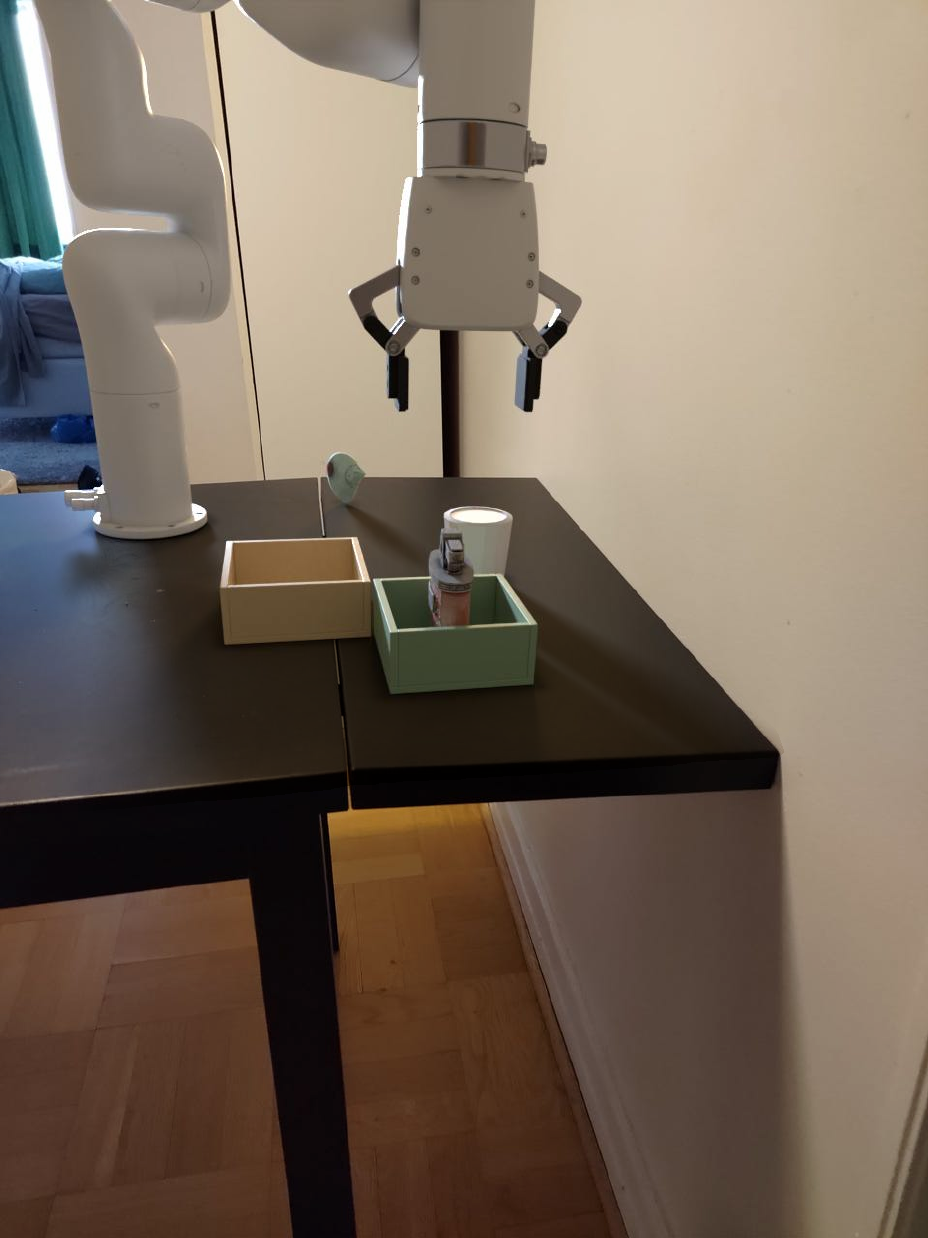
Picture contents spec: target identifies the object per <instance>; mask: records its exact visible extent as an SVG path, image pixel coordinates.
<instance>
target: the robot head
mask: <svg viewBox="0 0 928 1238" xmlns="http://www.w3.org/2000/svg"><path fill="white" fill-rule="evenodd" d="M325 472H326V477H327V482H328V484H329V487H330V489H331V492H332V493H333V494H334V496H335V497H336V498H337V499H338V500H339V501H340V502H341V503H343V504H348V503H351V502H353V501H354V499H355V497H356V496H357V493H358V489H359V486H360V482H361V481H362V480H363V478H364V477H365V476H367V475H366V474H367V473H366V472H365V471H364V470H363V469H362V468H361V467H360V465H359V463H358V461H357V460H356V459H355V458H354V457H353V456H351V455H350V454H349V453H347V452H343V451H341V452H340V451H339V452H335V453H333V454H332V455H331V456H330V457H329V458H328V460H327V463H326V471H325Z"/></svg>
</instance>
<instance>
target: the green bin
mask: <svg viewBox="0 0 928 1238" xmlns="http://www.w3.org/2000/svg"><path fill="white" fill-rule="evenodd" d="M372 580H373V581H372V583H373V585H372V587H373V636H374V639H375V643H376V646H377V650H378V653H379V657H380V661H381V665H382V668H383V672H384V676H385V679H386V683H387V686H388V687H387V688H388V690H389V691H388V692H389V694H390V695H398V694H412V693H413V694H414V693H427V692H442V691H456V690H458V691H459V690H470V689H471V690H472V689H485V688H500V687H513V686H514V687H515V686H529V685H534V682H535V678H534V677H535V670H536V669H535V668H536V657H537V656H536V655H537V643H538V629H539V628H538V627H539V624H538V623H537V621H536V619H534V617H533V616H532V614H531V613H530V611H529V610H528V609H527V608H526V606H525V604H524V602H522V600H521V599H520V597H519V596H518V594H517V593H516V592H515V590H514V589H513V588H512V586H511V585H510V583H509V581H508V580H507V579H506V578H505V575H504V576H503V575H502V574H478V575H474V580H473V588H472V589H471V591H470V618H469V625H467V626H449V627H430V618H431V608H430V606H429V581H430V580H431V576H430V575H429V576H413V577H412V576H411V577H410V576H409V577H383V578H373V579H372ZM429 627H430V628H429Z"/></svg>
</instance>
